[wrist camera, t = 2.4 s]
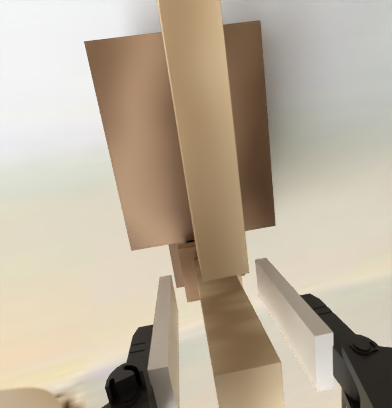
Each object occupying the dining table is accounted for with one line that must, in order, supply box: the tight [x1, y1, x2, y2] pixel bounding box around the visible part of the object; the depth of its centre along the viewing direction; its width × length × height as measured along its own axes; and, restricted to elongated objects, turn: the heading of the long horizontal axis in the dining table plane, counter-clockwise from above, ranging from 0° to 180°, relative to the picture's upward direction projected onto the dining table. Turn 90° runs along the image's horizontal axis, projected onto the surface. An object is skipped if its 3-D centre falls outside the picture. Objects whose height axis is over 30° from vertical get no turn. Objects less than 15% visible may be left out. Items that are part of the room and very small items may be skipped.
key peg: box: [178, 240, 285, 408], centre depth 16 cm, size 4×4×16 cm
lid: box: [84, 0, 275, 288], centre depth 14 cm, size 12×19×10 cm, turn 9°
